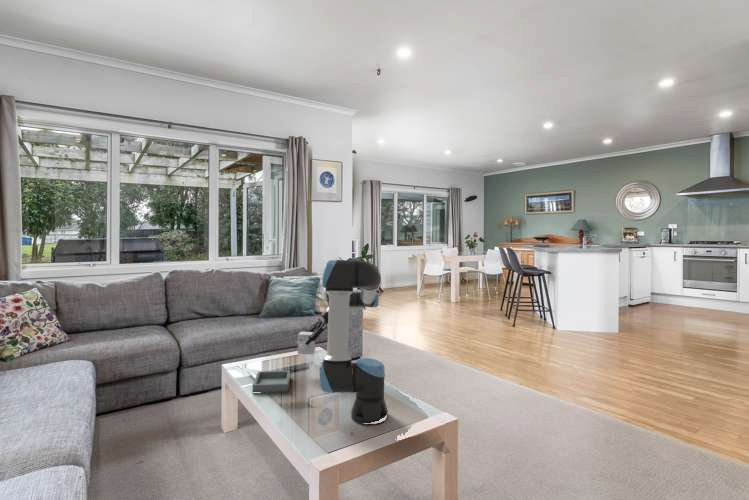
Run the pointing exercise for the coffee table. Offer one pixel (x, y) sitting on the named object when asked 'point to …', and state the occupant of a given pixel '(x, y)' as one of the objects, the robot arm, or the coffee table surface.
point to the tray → (271, 382)
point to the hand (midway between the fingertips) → (300, 346)
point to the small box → (301, 338)
